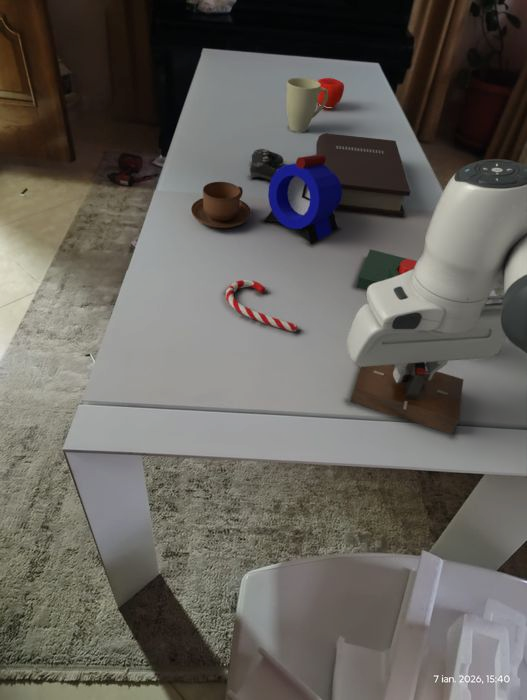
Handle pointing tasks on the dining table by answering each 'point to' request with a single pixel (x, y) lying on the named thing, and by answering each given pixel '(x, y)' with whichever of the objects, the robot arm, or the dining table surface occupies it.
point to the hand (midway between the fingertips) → (411, 378)
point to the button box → (378, 268)
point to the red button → (407, 265)
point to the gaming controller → (264, 163)
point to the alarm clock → (305, 197)
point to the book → (366, 173)
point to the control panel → (428, 409)
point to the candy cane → (252, 313)
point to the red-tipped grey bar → (415, 379)
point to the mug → (303, 102)
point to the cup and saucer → (221, 206)
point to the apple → (330, 92)
